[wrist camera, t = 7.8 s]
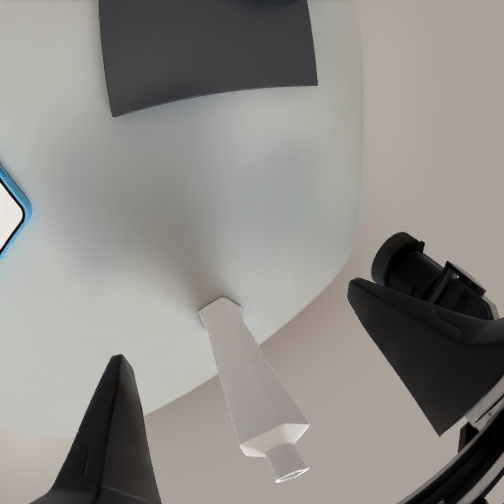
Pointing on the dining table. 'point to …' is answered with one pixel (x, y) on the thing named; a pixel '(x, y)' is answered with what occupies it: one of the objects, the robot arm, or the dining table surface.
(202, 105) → the dining table surface
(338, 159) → the dining table surface
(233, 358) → the perfume bottle
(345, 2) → the dining table surface
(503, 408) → the robot arm
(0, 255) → the smartphone
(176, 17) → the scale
